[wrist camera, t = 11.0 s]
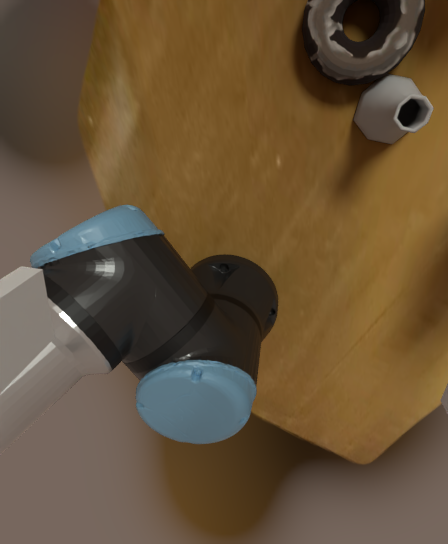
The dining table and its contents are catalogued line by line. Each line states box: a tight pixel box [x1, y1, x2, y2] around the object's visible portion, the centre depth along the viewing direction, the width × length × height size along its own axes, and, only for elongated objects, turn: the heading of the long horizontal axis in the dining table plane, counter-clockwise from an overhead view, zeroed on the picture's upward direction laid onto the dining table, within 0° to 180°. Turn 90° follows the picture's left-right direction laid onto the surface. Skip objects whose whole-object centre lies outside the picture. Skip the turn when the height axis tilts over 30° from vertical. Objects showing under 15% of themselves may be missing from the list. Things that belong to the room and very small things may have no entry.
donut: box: [302, 0, 425, 85], centre depth 37 cm, size 12×12×4 cm
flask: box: [353, 74, 434, 144], centre depth 37 cm, size 7×7×10 cm
